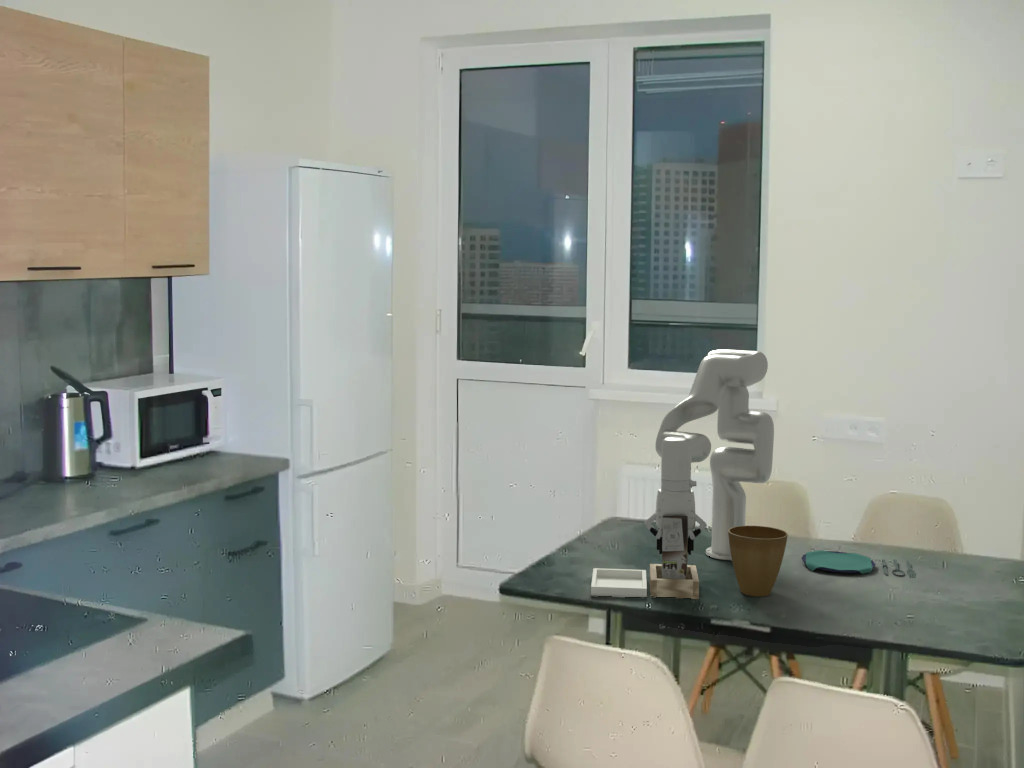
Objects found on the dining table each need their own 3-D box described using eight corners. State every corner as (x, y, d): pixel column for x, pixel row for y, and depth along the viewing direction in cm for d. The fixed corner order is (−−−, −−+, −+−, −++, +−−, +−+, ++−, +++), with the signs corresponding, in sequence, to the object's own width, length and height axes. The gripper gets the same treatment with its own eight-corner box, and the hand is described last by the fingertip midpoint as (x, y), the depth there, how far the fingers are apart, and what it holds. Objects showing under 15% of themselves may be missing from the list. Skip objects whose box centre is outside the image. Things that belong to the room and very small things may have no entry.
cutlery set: (801, 554, 312) (801, 547, 312) (910, 564, 304) (911, 556, 304) (800, 573, 293) (801, 565, 293) (917, 584, 285) (917, 576, 285)
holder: (695, 581, 284) (695, 565, 283) (698, 599, 269) (699, 581, 268) (649, 580, 285) (649, 563, 284) (650, 597, 270) (650, 579, 270)
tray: (645, 579, 286) (645, 569, 286) (646, 598, 269) (646, 588, 269) (593, 577, 288) (593, 568, 287) (590, 596, 271) (591, 586, 271)
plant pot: (783, 603, 265) (785, 540, 264) (723, 597, 270) (724, 535, 268) (788, 587, 279) (789, 527, 278) (730, 581, 284) (731, 522, 282)
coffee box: (686, 580, 272) (687, 518, 270) (661, 578, 273) (661, 517, 271) (688, 569, 281) (688, 509, 279) (663, 568, 282) (664, 508, 280)
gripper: (709, 482, 277) (707, 550, 279) (641, 481, 279) (640, 548, 281) (711, 489, 270) (710, 558, 272) (641, 487, 271) (641, 556, 274)
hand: (674, 552), depth 276 cm, fingers closed on coffee box, 6 cm apart
